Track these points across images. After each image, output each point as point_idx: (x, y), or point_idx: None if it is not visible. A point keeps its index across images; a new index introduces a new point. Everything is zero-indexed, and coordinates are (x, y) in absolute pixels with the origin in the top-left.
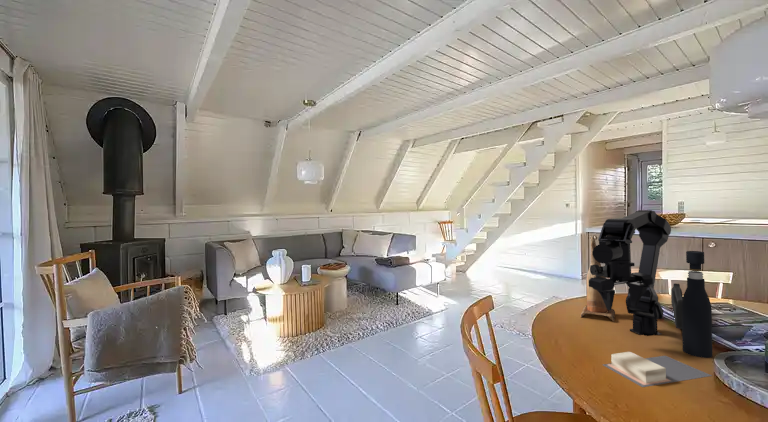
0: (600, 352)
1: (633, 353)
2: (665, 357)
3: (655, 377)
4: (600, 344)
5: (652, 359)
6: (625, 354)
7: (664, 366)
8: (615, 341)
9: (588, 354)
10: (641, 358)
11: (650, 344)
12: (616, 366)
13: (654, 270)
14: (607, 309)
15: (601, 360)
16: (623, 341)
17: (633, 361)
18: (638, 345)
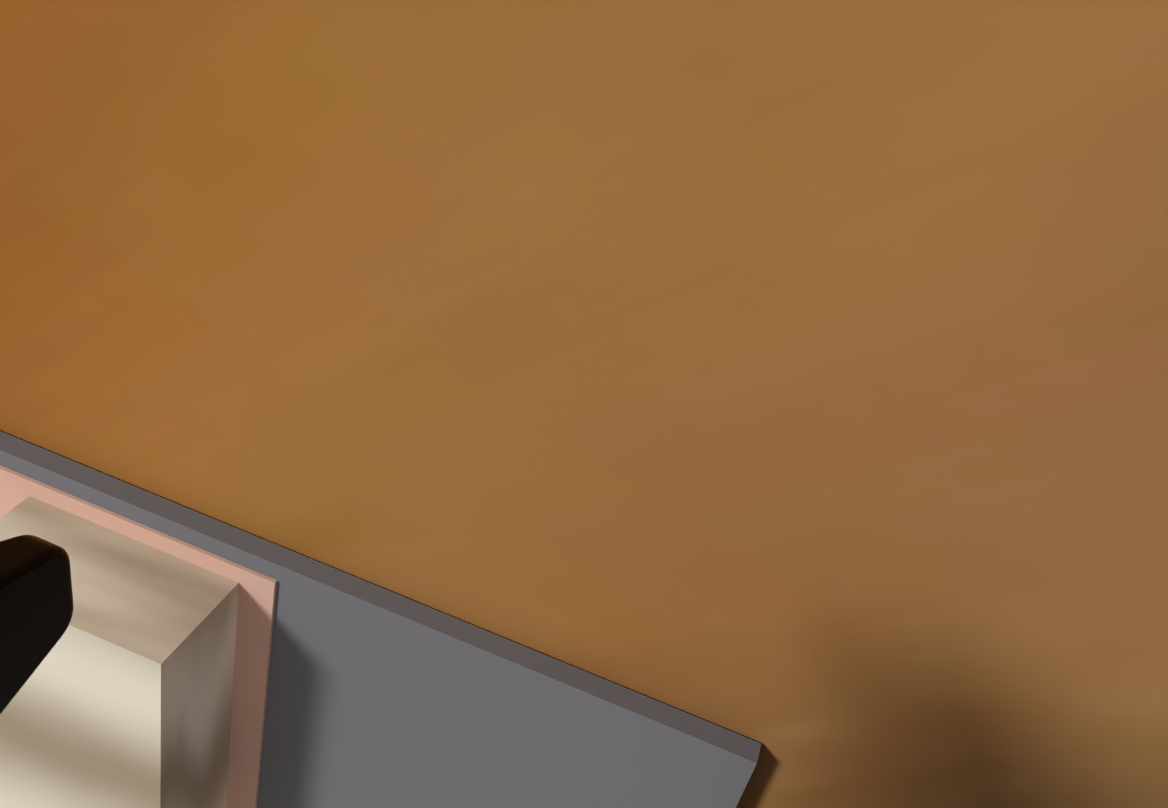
0: (218, 232)
1: (157, 699)
2: (694, 772)
3: None
4: (449, 68)
5: (518, 697)
6: (63, 655)
7: (458, 793)
8: (795, 141)
9: (42, 176)
10: (131, 772)
11: (1138, 534)
12: None
13: None
14: (32, 540)
15: (70, 350)
16: (916, 223)
17: (16, 739)
18: (927, 438)
